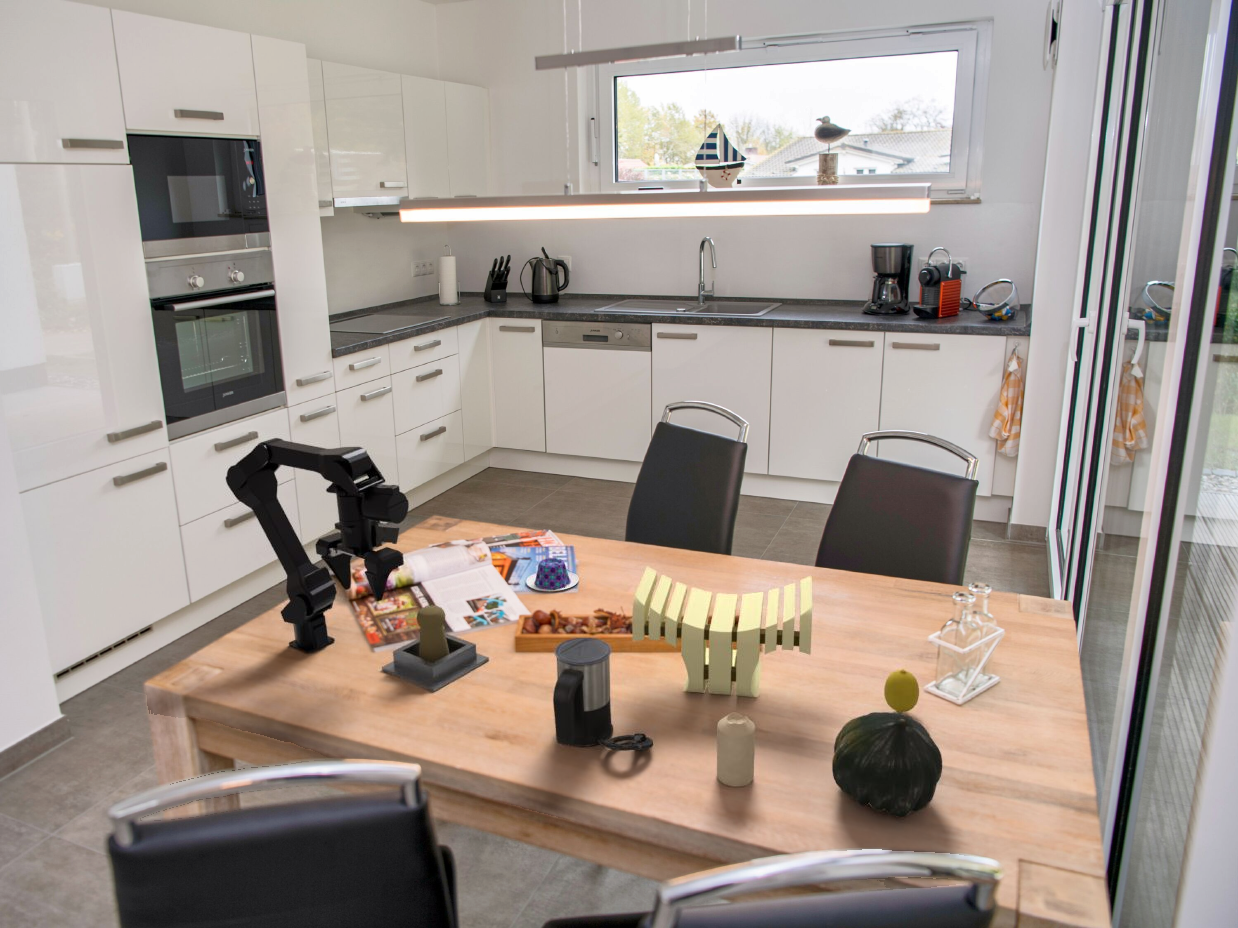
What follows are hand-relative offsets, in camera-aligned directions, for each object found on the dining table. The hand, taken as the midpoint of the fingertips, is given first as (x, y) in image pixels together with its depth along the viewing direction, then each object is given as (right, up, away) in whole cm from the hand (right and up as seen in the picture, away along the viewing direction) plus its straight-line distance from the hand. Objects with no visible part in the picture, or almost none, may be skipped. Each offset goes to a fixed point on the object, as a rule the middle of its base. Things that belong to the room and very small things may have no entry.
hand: (363, 594), depth 171 cm
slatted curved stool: (+67, -14, -7) cm, 69 cm away
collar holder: (+14, -13, 0) cm, 19 cm away
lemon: (+95, -17, -19) cm, 99 cm away
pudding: (+33, -3, +37) cm, 49 cm away
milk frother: (+46, -20, -25) cm, 56 cm away
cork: (+13, -13, 0) cm, 19 cm away
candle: (+66, -22, -35) cm, 77 cm away
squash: (+86, -24, -40) cm, 98 cm away
